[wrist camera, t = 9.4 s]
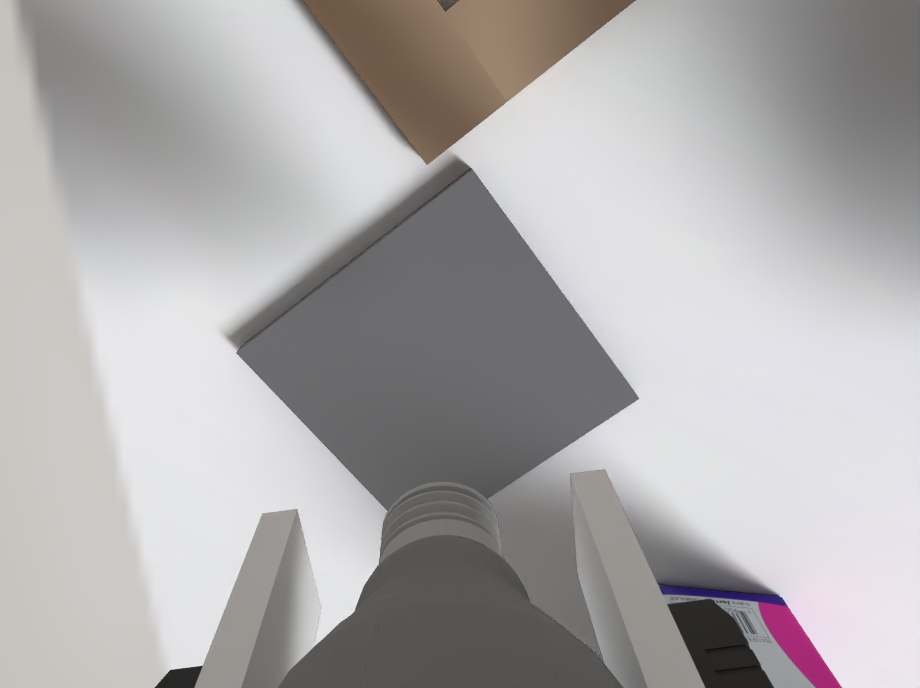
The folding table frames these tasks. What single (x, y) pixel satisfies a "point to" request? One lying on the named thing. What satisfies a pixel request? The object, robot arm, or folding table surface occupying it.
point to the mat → (441, 355)
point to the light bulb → (447, 611)
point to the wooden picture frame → (455, 55)
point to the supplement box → (767, 635)
